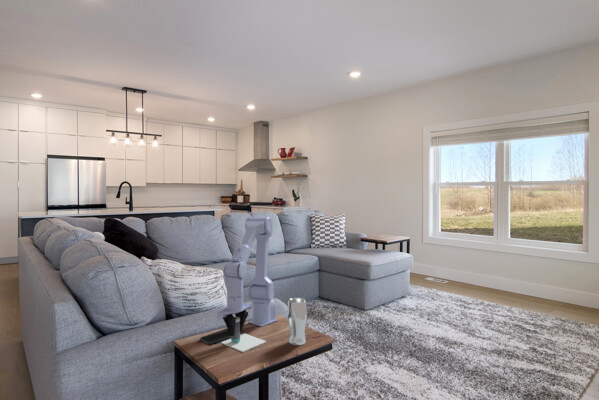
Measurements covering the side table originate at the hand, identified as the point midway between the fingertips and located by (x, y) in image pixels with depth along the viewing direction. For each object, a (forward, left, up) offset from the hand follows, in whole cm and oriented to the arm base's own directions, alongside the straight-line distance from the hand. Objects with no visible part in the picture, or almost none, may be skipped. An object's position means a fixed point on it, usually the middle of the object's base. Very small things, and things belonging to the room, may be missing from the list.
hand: (235, 333), depth 128 cm
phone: (-1, -8, -4) cm, 9 cm away
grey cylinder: (0, 0, -2) cm, 2 cm away
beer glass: (-14, +17, -3) cm, 22 cm away
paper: (-2, +2, -3) cm, 4 cm away
